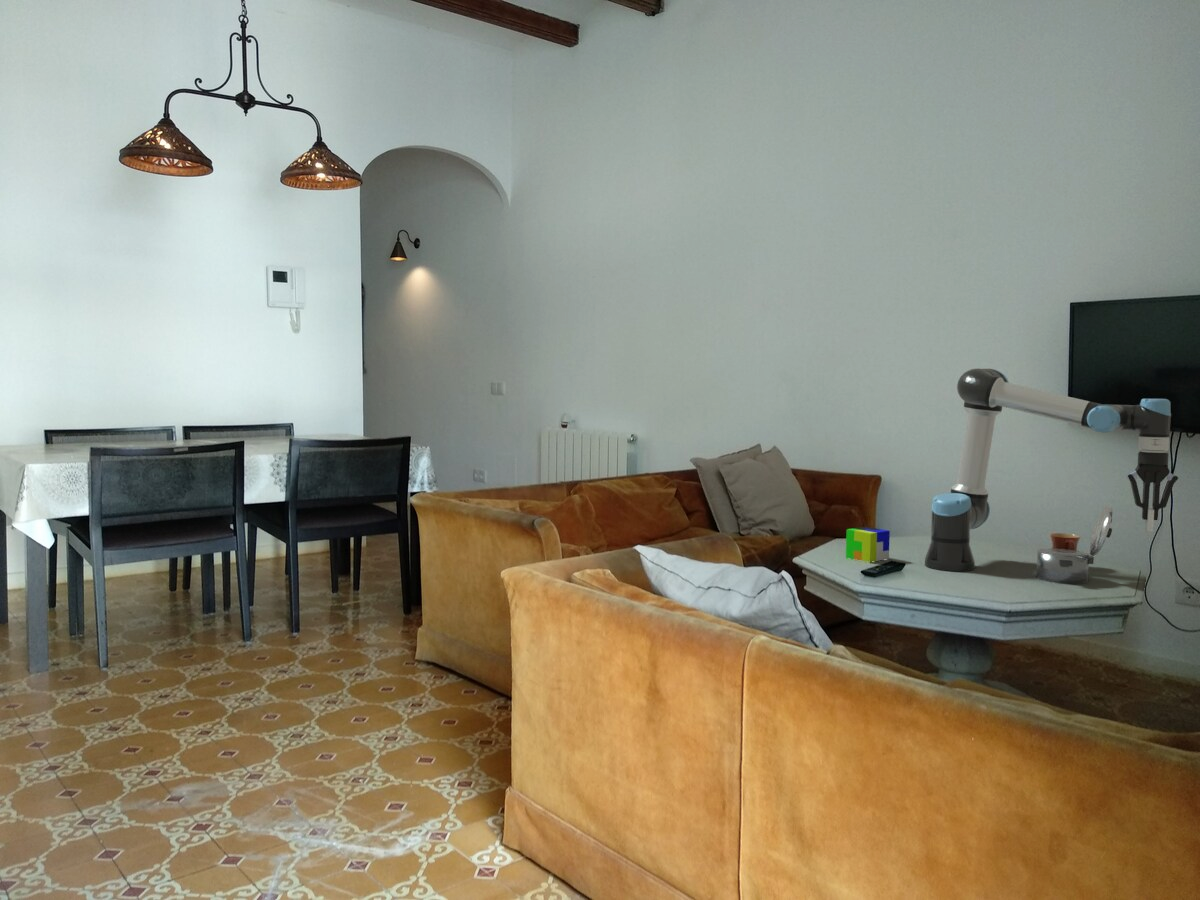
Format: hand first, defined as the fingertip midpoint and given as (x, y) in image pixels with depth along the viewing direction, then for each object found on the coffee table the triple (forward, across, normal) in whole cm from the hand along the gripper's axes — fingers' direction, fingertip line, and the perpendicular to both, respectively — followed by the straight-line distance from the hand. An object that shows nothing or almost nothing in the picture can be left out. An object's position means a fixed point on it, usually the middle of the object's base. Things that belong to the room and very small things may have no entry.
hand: (1149, 530), depth 256 cm
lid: (+1, -13, 0) cm, 13 cm away
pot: (+16, -22, 0) cm, 28 cm away
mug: (+17, -19, +19) cm, 32 cm away
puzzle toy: (+17, -80, +9) cm, 83 cm away
